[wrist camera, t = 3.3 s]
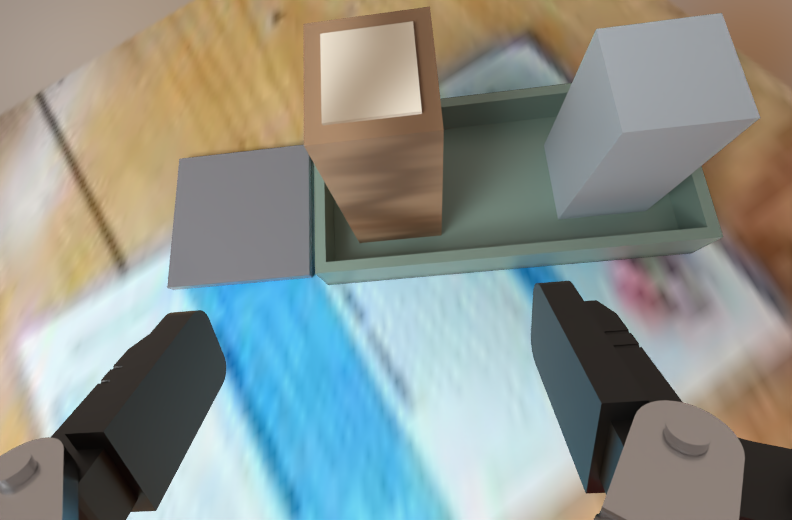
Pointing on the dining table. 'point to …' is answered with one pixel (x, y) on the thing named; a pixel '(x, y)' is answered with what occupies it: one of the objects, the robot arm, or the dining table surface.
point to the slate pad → (242, 218)
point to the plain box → (645, 114)
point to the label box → (377, 121)
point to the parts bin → (508, 205)
